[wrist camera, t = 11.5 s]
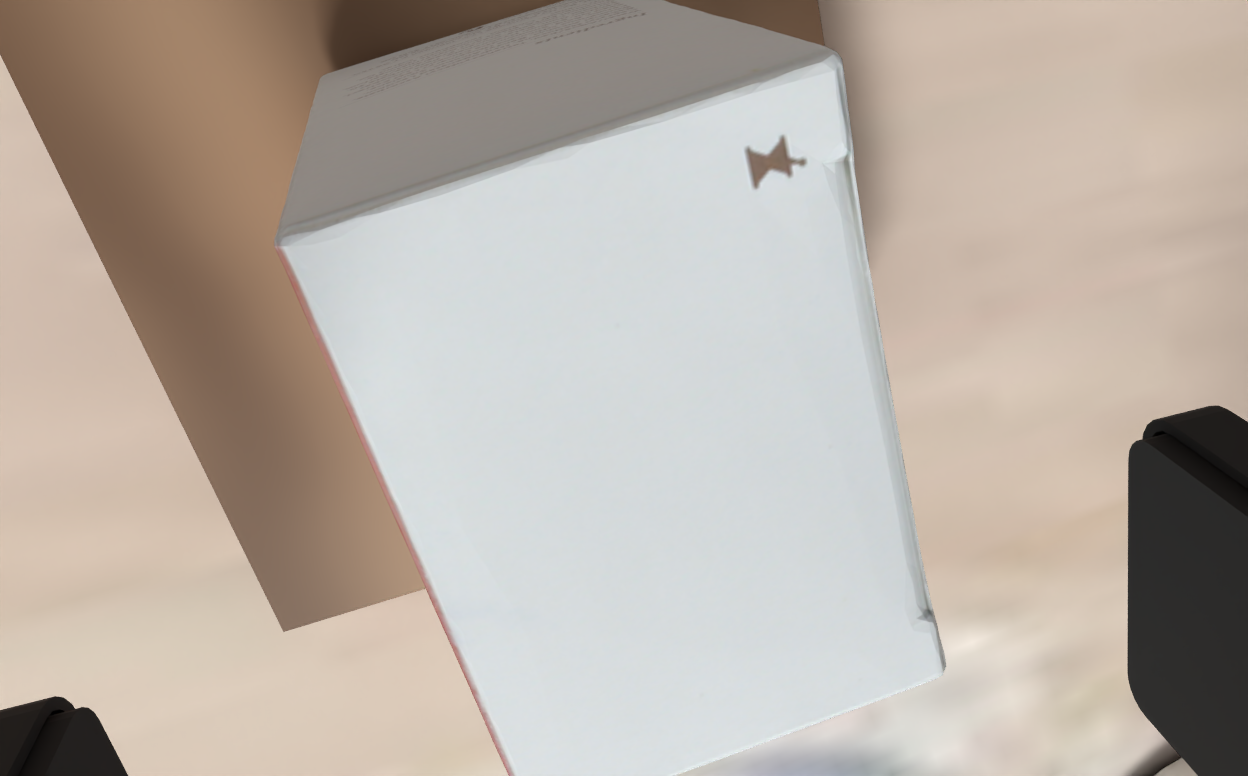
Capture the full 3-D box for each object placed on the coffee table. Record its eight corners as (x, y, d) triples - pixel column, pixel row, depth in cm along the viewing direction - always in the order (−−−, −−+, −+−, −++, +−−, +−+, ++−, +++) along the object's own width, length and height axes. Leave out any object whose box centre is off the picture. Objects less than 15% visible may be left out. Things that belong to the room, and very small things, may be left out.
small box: (315, 71, 19) (248, 216, 9) (618, -22, 19) (849, 27, 10) (463, 456, 22) (524, 849, 13) (717, 369, 23) (958, 687, 13)
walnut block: (708, -224, 23) (777, -254, 18) (815, 361, 29) (887, 447, 24) (54, -45, 22) (-42, -31, 18) (306, 514, 28) (283, 631, 24)
